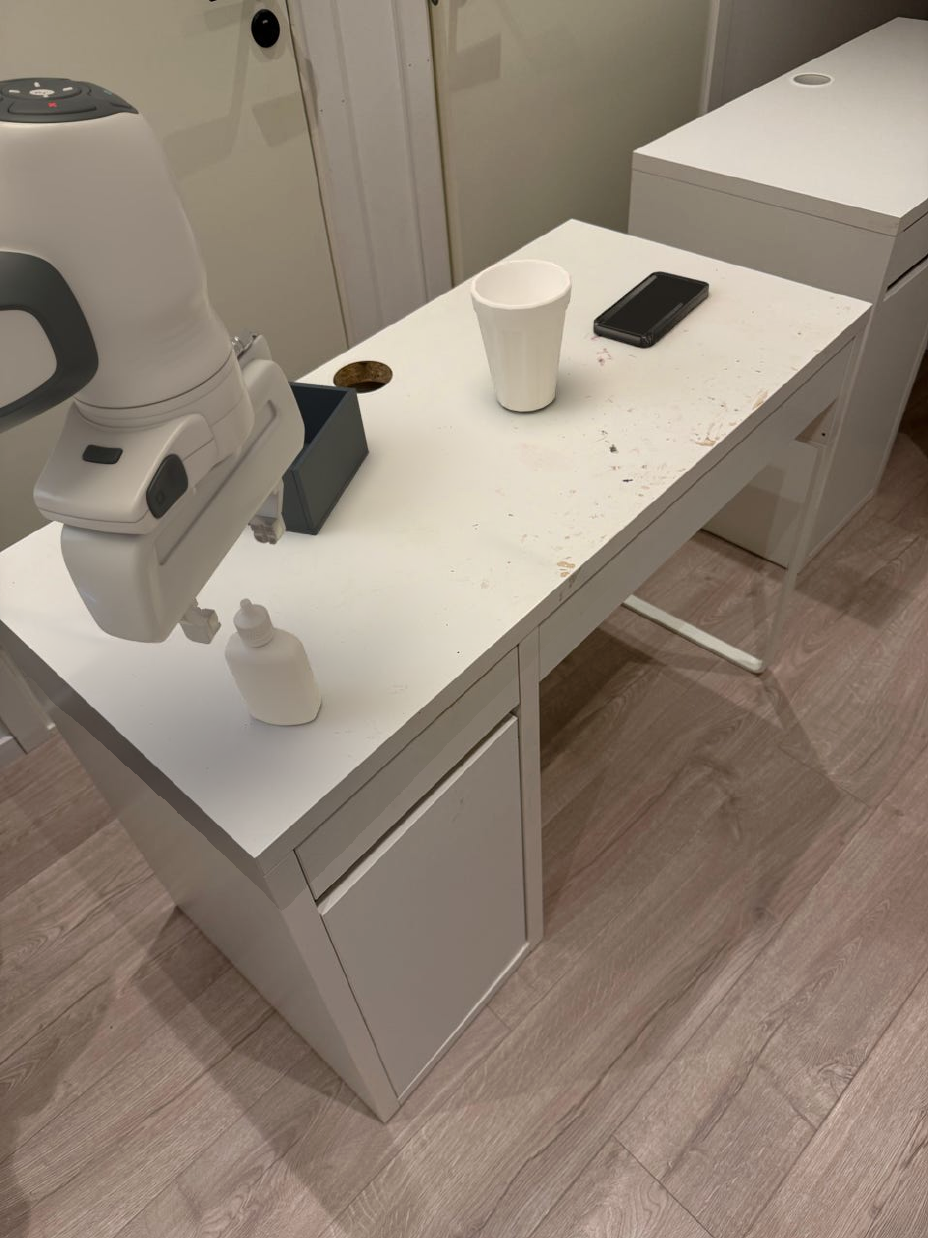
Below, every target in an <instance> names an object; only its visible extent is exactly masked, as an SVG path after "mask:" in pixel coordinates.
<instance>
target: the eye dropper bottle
mask: <svg viewBox="0 0 928 1238" xmlns="http://www.w3.org/2000/svg"><path fill="white" fill-rule="evenodd" d="M239 601H240V602H239V606H240V607H239V609H238V610H237V611H236V612H235V613H234V616H233V624H234V627H235V629H236V632H234V633H233V634H232V635H231V636H230V637H229V639H228V641H227V643H226V645H225V648H224V658H225V661H226V664H227V666H228V667H229V670H230V673H231V675H232V677H233V680H234V682H235V685H236V687H237V689H238V691H239V693H240V695H241V696H240V697H241V698H242V700H243V702H244V705H245V707H246V709H247V711H248V713H249V714H250V715H251V716H252V717H253V718H255V719H256V720H259V721H261V722H264V723H266V724H271V725H275V726H296V725H302V724H307V723H310V722H312V721H314V720H315V719H316V717H317V716H318V714H319V711H320V707H321V705H322V696H321V693H320V690H319V687H318V684H317V681H316V679H315V678H316V677H315V675H314V673H313V669H312V667H311V663H310V660H309V657H308V655H307V652H306V650H305V649H306V648H305V647H304V644H303V643H302V642H303V641H302V640H301V639H299V637H297V636H296V635H294V634H293V633H291V632H289V631H287V630H285V629H282V628H279V627H276V626H274V624H273V622H272V619H271V617H270V614H269V612H268V609H267V608H266V607H265V606H264V605H261V604H259V603H252V601H251V600H250V599H249V598H243V599H241V600H239Z"/></svg>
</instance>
